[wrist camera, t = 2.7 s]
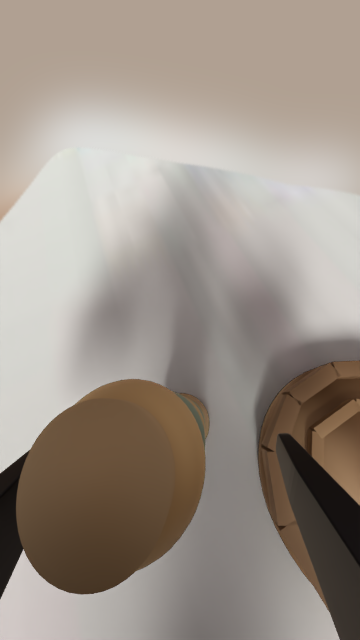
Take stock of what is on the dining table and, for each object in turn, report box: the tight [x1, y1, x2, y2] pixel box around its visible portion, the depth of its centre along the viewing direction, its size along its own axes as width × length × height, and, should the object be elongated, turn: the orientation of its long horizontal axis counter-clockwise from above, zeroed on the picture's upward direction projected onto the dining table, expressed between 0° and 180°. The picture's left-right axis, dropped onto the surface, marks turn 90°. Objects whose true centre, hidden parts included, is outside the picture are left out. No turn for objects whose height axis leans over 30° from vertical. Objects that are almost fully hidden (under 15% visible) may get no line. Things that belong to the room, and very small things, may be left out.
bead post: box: [16, 379, 209, 594], centre depth 10 cm, size 4×4×14 cm
